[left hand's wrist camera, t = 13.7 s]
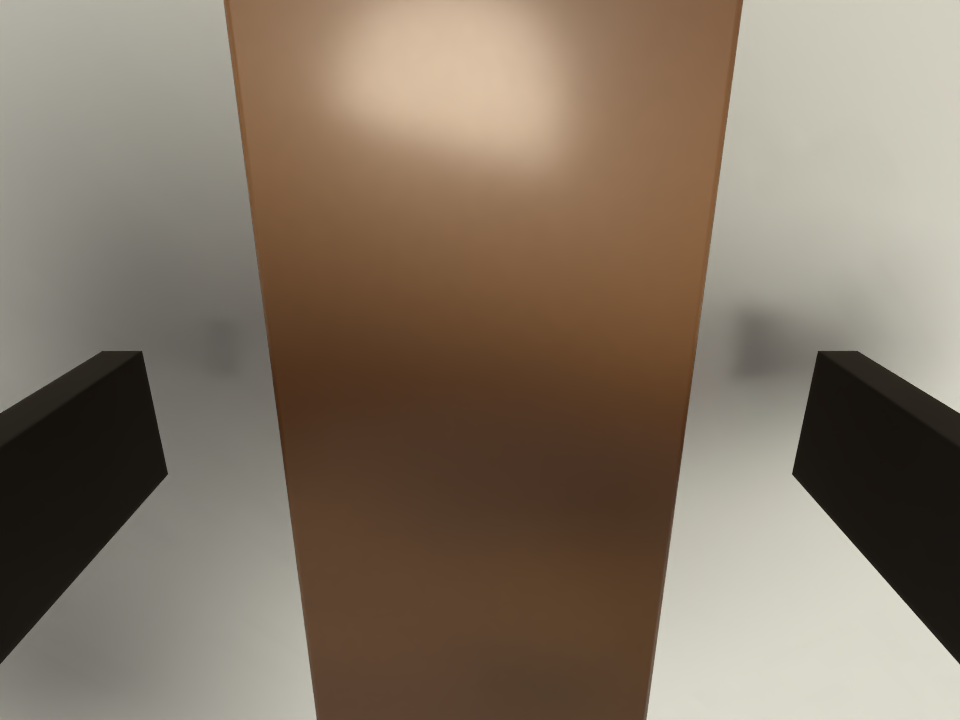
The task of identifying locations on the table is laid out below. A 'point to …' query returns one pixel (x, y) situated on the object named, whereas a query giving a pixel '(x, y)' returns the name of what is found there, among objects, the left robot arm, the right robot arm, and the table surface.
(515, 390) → the beam
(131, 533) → the table surface
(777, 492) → the table surface
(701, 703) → the table surface
